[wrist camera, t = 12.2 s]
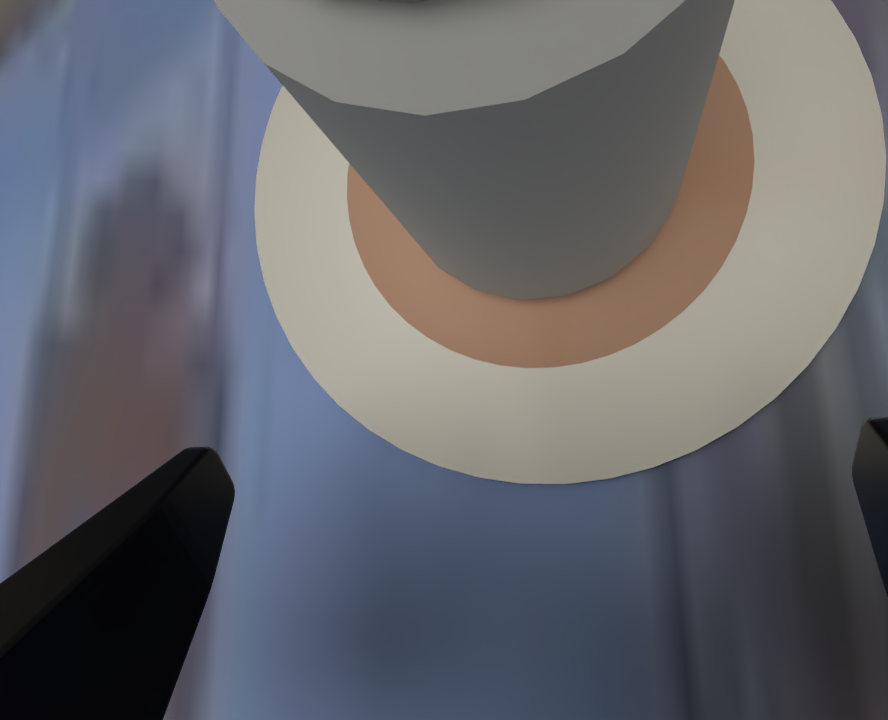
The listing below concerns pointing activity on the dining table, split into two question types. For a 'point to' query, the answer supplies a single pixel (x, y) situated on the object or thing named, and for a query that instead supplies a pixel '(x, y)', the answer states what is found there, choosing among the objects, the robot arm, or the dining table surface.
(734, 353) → the saucer
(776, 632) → the dining table surface
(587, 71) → the can
